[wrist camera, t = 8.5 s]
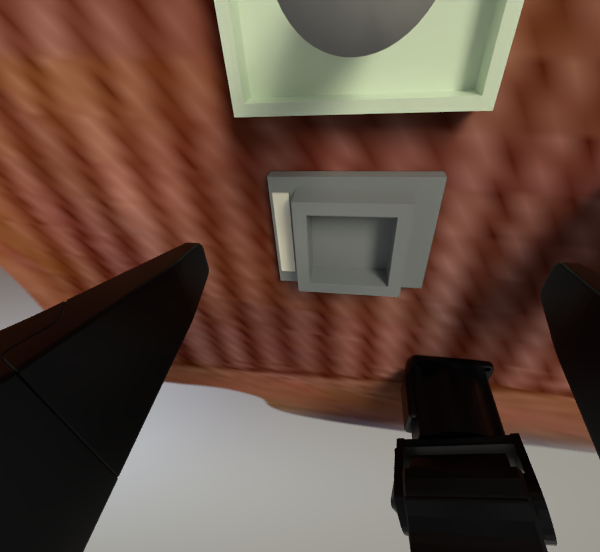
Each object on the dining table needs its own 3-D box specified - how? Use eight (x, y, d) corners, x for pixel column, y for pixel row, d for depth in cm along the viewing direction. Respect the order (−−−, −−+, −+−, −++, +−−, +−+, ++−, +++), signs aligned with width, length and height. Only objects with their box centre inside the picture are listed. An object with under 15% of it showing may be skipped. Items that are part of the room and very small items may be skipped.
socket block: (444, 171, 18) (453, 192, 16) (419, 280, 23) (424, 306, 21) (270, 171, 20) (259, 190, 18) (282, 273, 25) (275, 297, 23)
